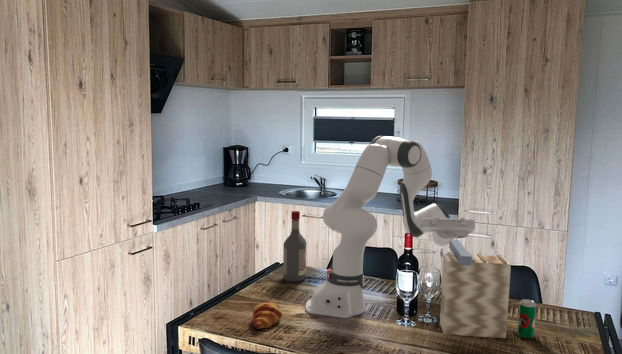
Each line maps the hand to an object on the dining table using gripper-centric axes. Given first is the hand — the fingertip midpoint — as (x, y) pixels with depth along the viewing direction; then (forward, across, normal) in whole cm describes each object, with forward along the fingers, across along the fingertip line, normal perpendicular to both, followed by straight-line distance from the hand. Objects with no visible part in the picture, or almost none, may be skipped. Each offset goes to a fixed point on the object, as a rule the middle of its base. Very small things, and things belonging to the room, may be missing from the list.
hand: (450, 219), depth 189 cm
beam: (+14, 0, +17) cm, 22 cm away
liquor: (-32, -64, +19) cm, 74 cm away
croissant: (+9, -65, +41) cm, 77 cm away
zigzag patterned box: (+5, +5, +40) cm, 41 cm away
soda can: (+6, +22, +42) cm, 47 cm away
